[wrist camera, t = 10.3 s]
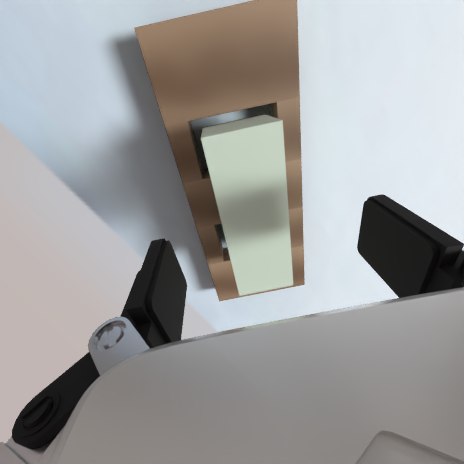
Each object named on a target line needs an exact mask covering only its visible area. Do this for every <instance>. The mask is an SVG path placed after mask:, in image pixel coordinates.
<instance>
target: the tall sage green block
mask: <svg viewBox="0 0 464 464" xmlns="http://www.w3.org/2000/svg"><path fill="white" fill-rule="evenodd" d="M201 141H202V145H203V149H204V153H205V157H206V162H207V166H208V170H209V174H210V178H211V182H212V186H213V190H214V194H215V198H216V202H217V206H218V210H219V215H220V219H221V223H222V227H223V231H224V235H225V239H226V243H227V247H228V251H229V255H230V259H231V264H232V268H233V272H234V276H235V280H236V284H237V288H238V292H239V296H242V295H247V294H252V293H257V292H262V291H267V290H272V289H277V288H282V287H287V286H292V285H293V271H292V256H291V240H290V225H289V210H288V195H287V179H286V164H285V149H284V133H283V120H280V119H277V118H274V117H271V116H269V115H266V114H265V115H260V116H256V117H251V118H247V119H242V120H237V121H233V122H228V123H224V124H219V125H215V126H210V127H205V128H203V130H202V135H201Z"/></svg>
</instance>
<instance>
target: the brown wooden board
mask: <svg viewBox="0 0 464 464" xmlns="http://www.w3.org/2000/svg"><path fill="white" fill-rule="evenodd" d="M134 29H135V32H136V35H137V38H138V41H139V45H140V48H141V51H142V54H143V58H144V61H145V64H146V67H147V70H148V74H149V77H150V80H151V83H152V86H153V90H154V93H155V96H156V99H157V102H158V106H159V109H160V112H161V115H162V118H163V122H164V125H165V128H166V131H167V135H168V138H169V141H170V144H171V147H172V151H173V154H174V157H175V160H176V163H177V167H178V170H179V173H180V176H181V179H182V183H183V186H184V189H185V192H186V196H187V199H188V202H189V205H190V208H191V212H192V215H193V218H194V221H195V224H196V228H197V231H198V234H199V237H200V240H201V244H202V247H203V250H204V253H205V256H206V260H207V263H208V266H209V269H210V273H211V276H212V279H213V282H214V285H215V289H216V292H217V295H218V298H219V301H223V300H229V299H234V298H239V297H244V296H249V295H254V294H259V293H264V292H269V291H274V290H279V289H284V288H290V287H295V286H300V285H304V248H303V210H302V171H301V133H300V94H299V56H298V17H297V0H254V1H249V2H245V3H241V4H236V5H232V6H228V7H223V8H219V9H214V10H210V11H206V12H201V13H197V14H192V15H188V16H184V17H179V18H175V19H171V20H166V21H162V22H157V23H153V24H149V25H144V26H140V27H135V28H134ZM266 104H270V108H271V117H274V118H277V119H280V120H283V133H284V149H285V164H286V179H287V195H288V210H289V225H290V240H291V256H292V271H293V285H292V286H287V287H282V288H277V289H272V290H267V291H262V292H257V293H252V294H247V295H242V296H239V292H238V288H237V284H236V280H235V276H234V272H233V268H232V264H231V259H230V255H229V251H228V248H227V249H223V248H222V244H221V240H220V236H219V232H218V229H217V224H222V223H221V219H220V215H219V210H218V206H217V202H216V198H215V194H214V190H213V186H212V182H211V178H210V174H209V171H205V172H203V170H202V166H201V162H200V158H199V154H198V150H197V146H196V143H195V139H194V135H193V131H192V127H191V123H190V121H192V120H196V119H201V118H206V117H210V116H215V115H219V114H224V113H229V112H233V111H238V110H242V109H247V108H252V107H256V106H261V105H266Z"/></svg>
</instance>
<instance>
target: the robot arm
mask: <svg viewBox="0 0 464 464" xmlns="http://www.w3.org/2000/svg"><path fill="white" fill-rule="evenodd" d="M463 246H464V244H463V243H462V242H460V241H458V240H457V239H455V238H453V237H452V236H450V235H449V234H447V233H445V232H444V231H442V230H440V229H439V228H437V227H436V226H434V225H432V224H431V223H429V222H428V221H426V220H424V219H423V218H421V217H419V216H418V215H416V214H415V213H413V212H411V211H410V210H408V209H406V208H405V207H403V206H402V205H400V204H398V203H397V202H395V201H394V200H392V199H390V198H389V197H387V196H385V195H377V196H372V197H369V198H368V199H367V201H365V202H364V205H363V212H362V219H361V226H360V232H359V239H358V246H357V248H358V252H359V253H360V255H361V256H362V257H363V258H364V259H365V260H366V261H367V262H368V264H369V265H370V266H371V267H372V268H373V269H374V270H375V271H376V272H377V274H378V275H379V276H380V277H381V278H382V279H383V280H384V281H385V282H386V284H387V285H388V286H389V287H390V288H391V289H392V290H393V291H394V292H395V294H396V295H397V296H398V297H399V298H397V299H392V300H386V301H381V302H375V303H370V304H364V305H359V306H353V307H348V308H343V309H337V310H332V311H327V312H321V313H316V314H311V315H305V316H300V317H295V318H289V319H284V320H279V321H274V322H269V323H263V324H258V325H253V326H248V327H243V328H238V329H232V330H227V331H222V332H217V333H213V334H208V335H203V336H198V337H194V338H189V339H184V340H181V333H182V325H183V316H184V307H185V298H186V290H187V283H186V280H185V277H184V275H183V272H182V270H181V267H180V265H179V262H178V260H177V258H176V255H175V253H174V250H173V248H172V245H171V243H170V241H166V240H165V239H159V240H154V241H152V242H151V244H150V247H149V249H148V252H147V255H146V257H145V260H144V262H143V265H142V268H141V270H140V271H139V272H138V273H137V275H136V278H135V281H134V283H133V286H132V288H131V291H130V294H129V296H128V299H127V301H126V304H125V306H124V309H123V312H122V314H121V317H115V318H113V319H110V320H108V321H106V322H105V323H103V324H102V325H101V326H99V327H98V328H97V329H96V330H95V332H94V333H93V334H92V336H91V338H90V340H89V344H88V349H89V353H87V354H86V355H85V356H84V357H83V358H81V359H80V360H79V361H78V362H76V363H75V364H74V365H73V366H72V367H70V368H69V369H68V370H67V371H66V372H65V373H63V374H62V375H61V376H59V377H58V378H57V379H56V380H55V381H53V382H52V383H51V384H50V385H49V386H47V387H46V388H45V389H44V390H42V391H41V392H40V393H39V394H38V395H36V396H35V397H34V398H33V399H32V400H31V401H30V402H29V403H28V404H27V405H26V406H25V408H24V409H23V410H22V411H21V413H20V414H19V416H18V418H17V419H16V421H15V424H14V427H13V430H12V437H11V438H10V439H9V440H8V442H7V443H6V444H5V443H3V442H1V443H0V464H464V251H462V248H463Z"/></svg>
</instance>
